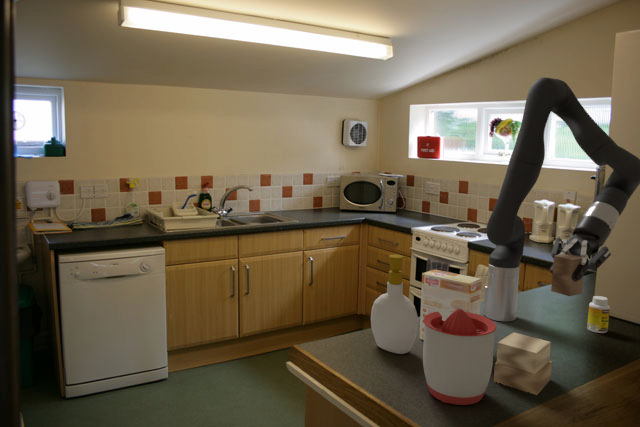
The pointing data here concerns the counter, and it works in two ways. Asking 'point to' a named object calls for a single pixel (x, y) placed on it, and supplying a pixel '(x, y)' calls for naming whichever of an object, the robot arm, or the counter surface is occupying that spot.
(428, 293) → the coffeecake box
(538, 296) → the counter surface
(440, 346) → the citrus juicer
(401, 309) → the soap bottle
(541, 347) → the block top
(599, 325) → the supplement bottle
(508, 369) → the block bottom
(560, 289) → the walnut post
